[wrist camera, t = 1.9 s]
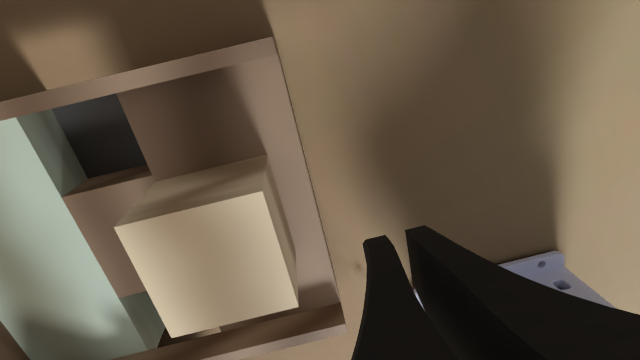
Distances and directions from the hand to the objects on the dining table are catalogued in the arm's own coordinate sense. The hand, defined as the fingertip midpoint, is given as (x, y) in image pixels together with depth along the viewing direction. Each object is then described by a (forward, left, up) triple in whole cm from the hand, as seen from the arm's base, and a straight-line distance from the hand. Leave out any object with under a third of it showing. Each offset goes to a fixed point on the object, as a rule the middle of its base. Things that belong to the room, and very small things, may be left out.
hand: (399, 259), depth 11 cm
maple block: (+6, 0, -6) cm, 9 cm away
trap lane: (+11, 0, -8) cm, 14 cm away
